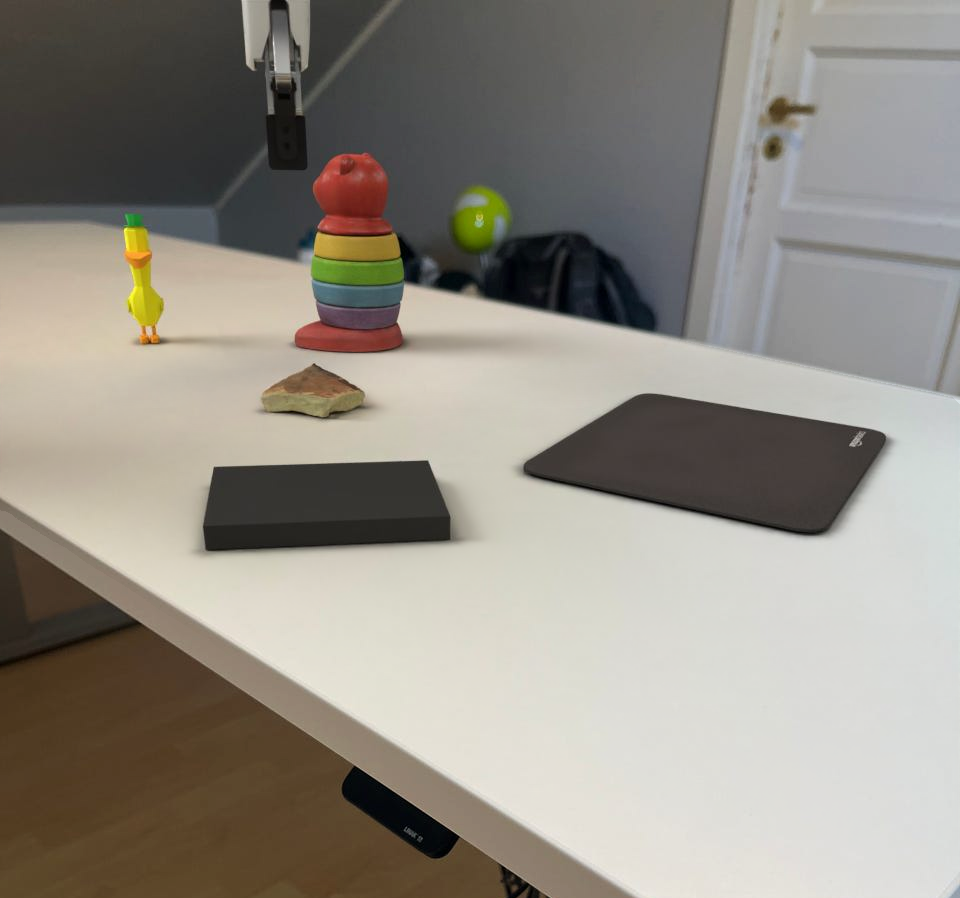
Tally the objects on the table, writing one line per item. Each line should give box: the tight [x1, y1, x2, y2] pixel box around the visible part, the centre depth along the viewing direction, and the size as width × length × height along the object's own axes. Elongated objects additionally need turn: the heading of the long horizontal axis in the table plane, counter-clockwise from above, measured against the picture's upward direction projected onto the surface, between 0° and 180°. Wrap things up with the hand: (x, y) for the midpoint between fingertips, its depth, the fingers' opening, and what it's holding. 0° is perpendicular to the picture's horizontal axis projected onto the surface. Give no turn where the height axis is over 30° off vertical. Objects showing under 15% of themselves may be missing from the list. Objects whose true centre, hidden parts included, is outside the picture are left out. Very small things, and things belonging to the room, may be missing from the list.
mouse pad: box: [522, 392, 887, 533], centre depth 73 cm, size 25×21×1 cm
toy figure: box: [123, 213, 165, 345], centre depth 96 cm, size 7×4×12 cm, turn 14°
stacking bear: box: [294, 152, 405, 353], centre depth 98 cm, size 11×10×18 cm
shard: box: [260, 362, 366, 418], centre depth 82 cm, size 11×8×2 cm
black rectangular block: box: [202, 459, 451, 551], centre depth 60 cm, size 14×10×2 cm
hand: (288, 166), depth 83 cm, fingers closed
